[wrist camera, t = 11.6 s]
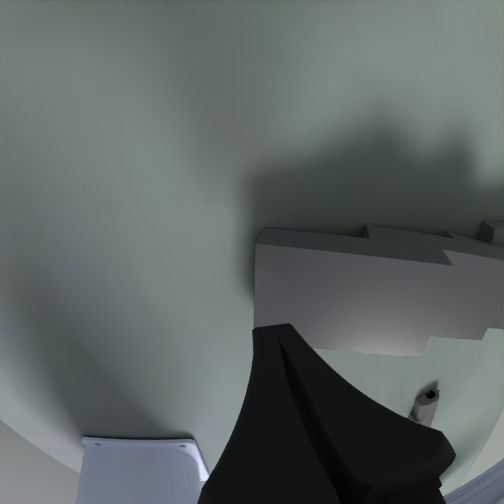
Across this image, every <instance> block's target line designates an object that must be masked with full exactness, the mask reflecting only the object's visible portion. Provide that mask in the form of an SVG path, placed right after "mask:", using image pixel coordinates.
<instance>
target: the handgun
mask: <svg viewBox="0 0 504 504" xmlns="http://www.w3.org/2000/svg"><path fill="white" fill-rule="evenodd" d="M439 391H440V390H437V389H436V388H434V389H432V390H430V395H429V399H428V398H427V397H426V394H427V393H425V394H423V395H421V396H419V397H417V398H415V404H414V409H413V412H412V413H410V414H409V417H408V419H409V420H412V421H414V422H416V423H419V424H422V425H424V426H427V427H431V423H432V420H433V417H434V414H435V410H436V407H437V403H438V399H439Z"/></svg>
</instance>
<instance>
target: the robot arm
mask: <svg viewBox="0 0 504 504" xmlns="http://www.w3.org/2000/svg"><path fill="white" fill-rule="evenodd" d="M252 336H253V361H252V368H251V374H250V379H249V383H248V387H247V392H246V395H245V399H244V402H243V405H242V408H241V411H240V414H239V417H238V420H237V422H236V425H235V427H234V430H233V432H232V434H231V437H230V439H229V441H228V443H227V445H226V447H225V449H224V451H223V453H222V455H221V457H220V459H219V461H218V463H217V465H216V466H215V468H214V470H213V471H212V473H211V475H210V476H209V473H208V471H207V469H206V466H205V464H204V462H203V459H202V457H201V454H200V452H199V449H198V447H197V444H196V442H195V441H194V440H192V439H177V440H127V439H106V438H92V437H83V438H82V443H83V444H84V445H85V446H86V447H85V451H84V456H83V462H82V467H81V473H80V480H79V486H78V492H77V500H76V504H504V459H503V460H501V461H500V462H498V463H497V464H496V465H494V466H493V467H491V468H490V469H488V470H487V471H485V472H484V473H482V474H481V475H479V476H478V477H476V478H474V479H473V480H471V481H469V482H468V483H466V484H465V485H463V486H461V487H459V488H458V489H456V490H454V491H452V492H451V493H449V494H447V495H445V496H442V494H441V492H440V490H439V488H440V487H441V486H442V483H441V481H440V479H439V476H440V475H441V474H442V473H443V472H444V471H445V470H446V469H447V468H448V467H449V466H450V465H451V464H452V462H453V461H454V459H455V456H456V453H455V451H454V450H453V448H452V446H451V444H450V443H449V441H448V439H447V438H446V437H445V435H444V434H443V433H442V432H441V431H438V430H436V429H433V428H430V427H427V426H424V425H422V424H419V423H416V422H414V421H412V420H409V419H407V418H405V417H403V416H401V415H399V414H397V413H395V412H393V411H391V410H389V409H388V408H386V407H384V406H382V405H380V404H379V403H377V402H375V401H374V400H372V399H371V398H369V397H368V396H366V395H365V394H363V393H362V392H360V391H359V390H358V389H356V388H355V387H354V386H352V385H351V384H350V383H348V382H347V381H346V380H345V379H344V378H342V377H341V376H340V375H339V374H338V373H337V372H336V371H334V370H333V369H332V368H331V367H330V366H329V365H328V364H327V363H326V362H325V361H324V360H323V359H322V358H321V357H320V356H319V355H318V354H317V353H316V352H315V351H314V350H313V349H312V348H311V347H310V346H309V344H308V343H307V342H306V341H305V340H304V339H303V338H302V336H301V335H300V334H299V333H298V332H297V330H296V329H295V328H294V327H293V325H292V324H290V323H285V324H278V325H271V326H263V327H255V328H254V329H253V330H252ZM206 480H207V481H206ZM200 481H206V483H205V484H204V486H203V487H202V490H201V487H200Z"/></svg>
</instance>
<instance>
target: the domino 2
mask: <svg viewBox="0 0 504 504" xmlns="http://www.w3.org/2000/svg"><path fill="white" fill-rule="evenodd" d="M364 238H369V239H377V240H386V241H394V242H402V243H410V244H418V245H426V246H434V247H441V248H442V250H443V251H444V253H445V254H446V256H447V257H448V259H449V260H450V261H451V263H452V264H453V269H452V272H451V276H450V279H449V282H448V285H447V288H446V292H445V295H444V298H443V301H442V304H441V306H440V309H439V312H438V315H437V318H436V320H435V323H434V326H433V328H432V331H431V333H430V336H434V337H446V338H459V339H473V340H482V338H483V336H484V334H485V332H486V330H487V328H488V326H489V324H490V322H491V320H492V317H493V315H494V313H495V311H496V309H497V306H498V304H499V302H500V299H501V297H502V295H503V292H504V251H503V250H502V249H501V248H500V247H495V246H490V245H485V244H480V243H475V242H470V241H464V240H459V239H454V238H448V237H443V236H437V235H431V234H426V233H420V232H414V231H408V230H402V229H396V228H389V227H383V226H377V225H370V224H366V228H365V234H364Z"/></svg>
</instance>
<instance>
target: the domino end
mask: <svg viewBox="0 0 504 504" xmlns="http://www.w3.org/2000/svg"><path fill="white" fill-rule="evenodd" d="M478 240H480V241H483V242H486V243H490V244H493V245H496V246H500V247H503V248H504V221H482V226H481V230H480V234H479V238H478Z"/></svg>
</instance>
